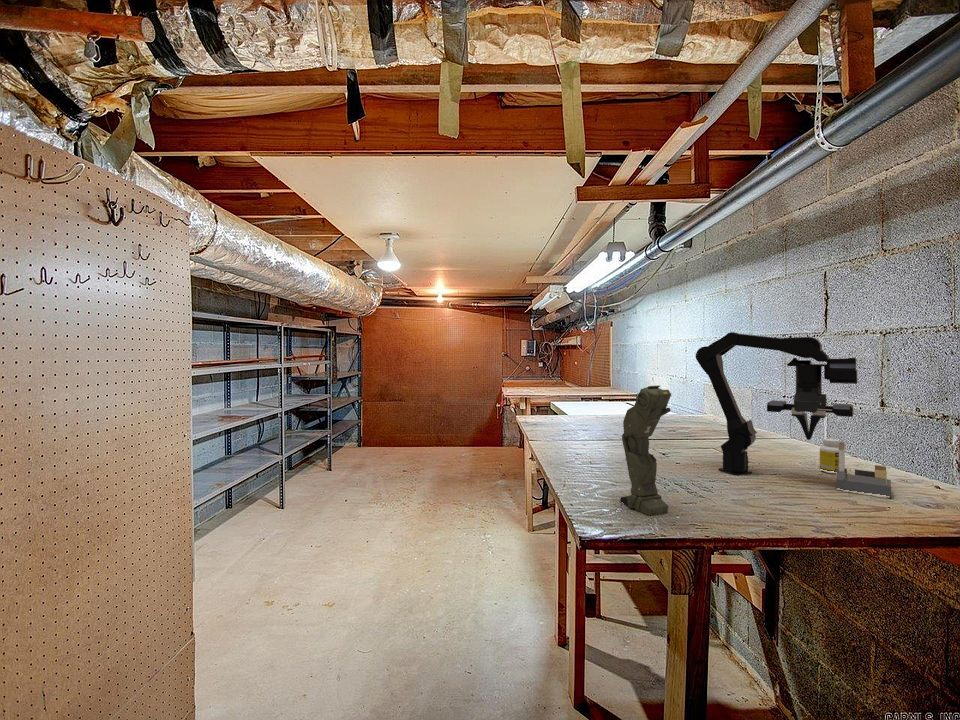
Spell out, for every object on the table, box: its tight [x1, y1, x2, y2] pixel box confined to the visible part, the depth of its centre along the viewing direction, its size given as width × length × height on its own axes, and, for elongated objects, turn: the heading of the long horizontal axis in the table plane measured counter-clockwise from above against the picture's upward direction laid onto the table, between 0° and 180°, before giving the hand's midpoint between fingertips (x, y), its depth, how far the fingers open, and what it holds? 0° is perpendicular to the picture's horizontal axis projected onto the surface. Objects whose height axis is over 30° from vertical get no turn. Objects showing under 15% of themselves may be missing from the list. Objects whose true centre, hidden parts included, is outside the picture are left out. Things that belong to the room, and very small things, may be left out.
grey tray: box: [835, 464, 892, 497], centre depth 114 cm, size 10×8×6 cm
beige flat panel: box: [839, 441, 846, 473], centre depth 117 cm, size 1×5×9 cm, turn 138°
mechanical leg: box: [619, 385, 672, 517], centre depth 103 cm, size 14×7×30 cm, turn 21°
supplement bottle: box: [819, 438, 841, 472], centre depth 132 cm, size 5×5×10 cm
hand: (808, 439), depth 121 cm, fingers closed
